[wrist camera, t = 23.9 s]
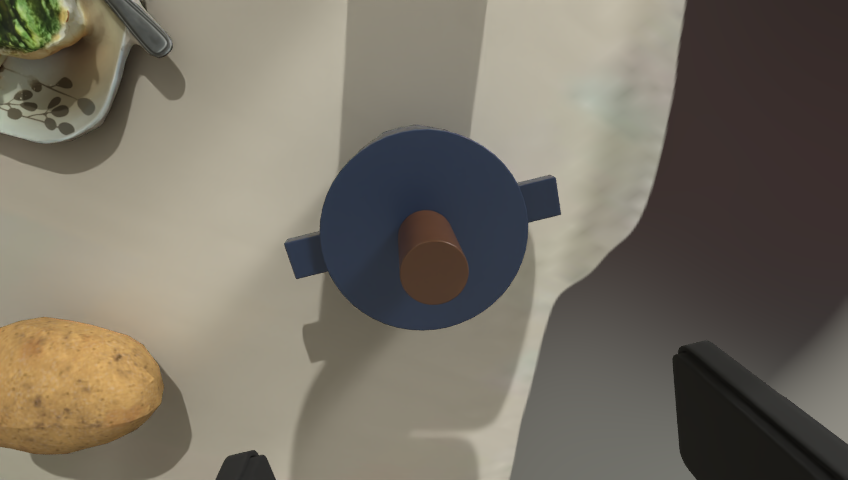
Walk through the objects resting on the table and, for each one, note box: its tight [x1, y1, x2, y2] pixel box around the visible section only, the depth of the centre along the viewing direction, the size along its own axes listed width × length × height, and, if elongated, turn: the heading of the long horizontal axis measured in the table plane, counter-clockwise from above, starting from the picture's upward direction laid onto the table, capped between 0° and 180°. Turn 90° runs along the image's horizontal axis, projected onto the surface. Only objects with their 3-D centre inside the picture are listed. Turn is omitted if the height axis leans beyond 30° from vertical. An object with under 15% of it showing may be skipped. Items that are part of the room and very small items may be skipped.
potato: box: [0, 317, 164, 454], centre depth 33 cm, size 10×14×8 cm
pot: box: [284, 125, 561, 279], centre depth 31 cm, size 11×17×8 cm
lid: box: [320, 129, 528, 330], centre depth 25 cm, size 12×12×7 cm
